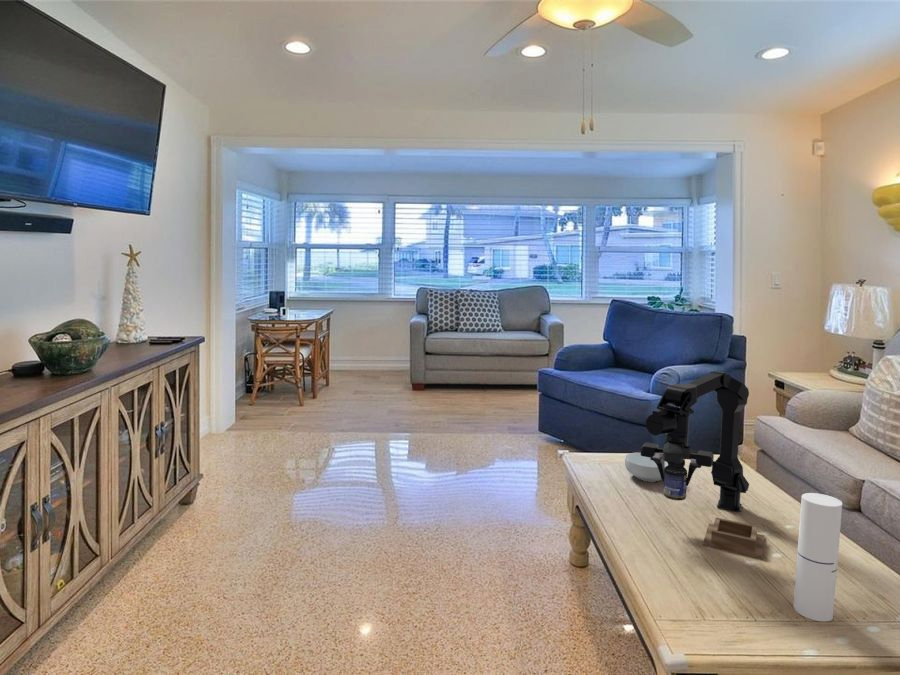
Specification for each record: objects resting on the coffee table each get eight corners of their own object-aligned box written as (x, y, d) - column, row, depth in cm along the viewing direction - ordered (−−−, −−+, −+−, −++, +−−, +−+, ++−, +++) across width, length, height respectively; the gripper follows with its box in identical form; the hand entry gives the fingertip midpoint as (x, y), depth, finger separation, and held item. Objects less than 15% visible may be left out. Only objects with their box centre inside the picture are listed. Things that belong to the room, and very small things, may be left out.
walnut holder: (708, 525, 160) (709, 513, 160) (764, 537, 153) (765, 524, 153) (702, 545, 148) (703, 532, 148) (762, 559, 141) (763, 545, 141)
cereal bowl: (681, 487, 190) (682, 467, 189) (632, 486, 190) (633, 466, 190) (663, 470, 207) (663, 451, 206) (618, 469, 207) (619, 451, 206)
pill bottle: (688, 502, 155) (690, 463, 154) (665, 500, 156) (666, 462, 155) (683, 493, 161) (685, 456, 160) (661, 492, 162) (663, 455, 161)
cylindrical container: (785, 602, 122) (793, 493, 120) (816, 601, 123) (824, 492, 120) (809, 622, 115) (818, 506, 113) (841, 620, 116) (851, 505, 113)
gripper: (637, 432, 155) (635, 486, 156) (710, 442, 145) (707, 499, 147) (645, 423, 164) (643, 474, 166) (715, 432, 155) (712, 486, 156)
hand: (675, 483), depth 158 cm, fingers closed on pill bottle, 6 cm apart
